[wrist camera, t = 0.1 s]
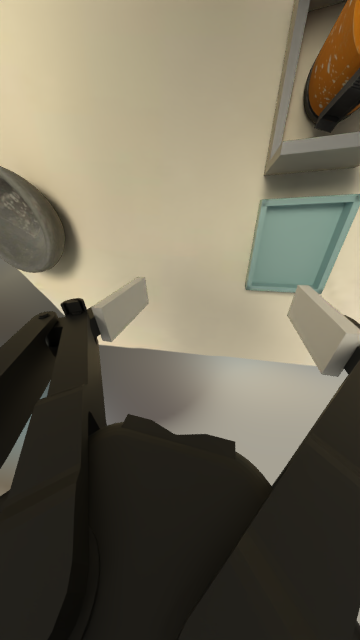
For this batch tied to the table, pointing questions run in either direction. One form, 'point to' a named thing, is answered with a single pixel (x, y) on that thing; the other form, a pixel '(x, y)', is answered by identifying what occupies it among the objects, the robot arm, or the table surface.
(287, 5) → the table surface
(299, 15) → the dock
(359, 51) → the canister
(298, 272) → the tray
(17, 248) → the bowl
